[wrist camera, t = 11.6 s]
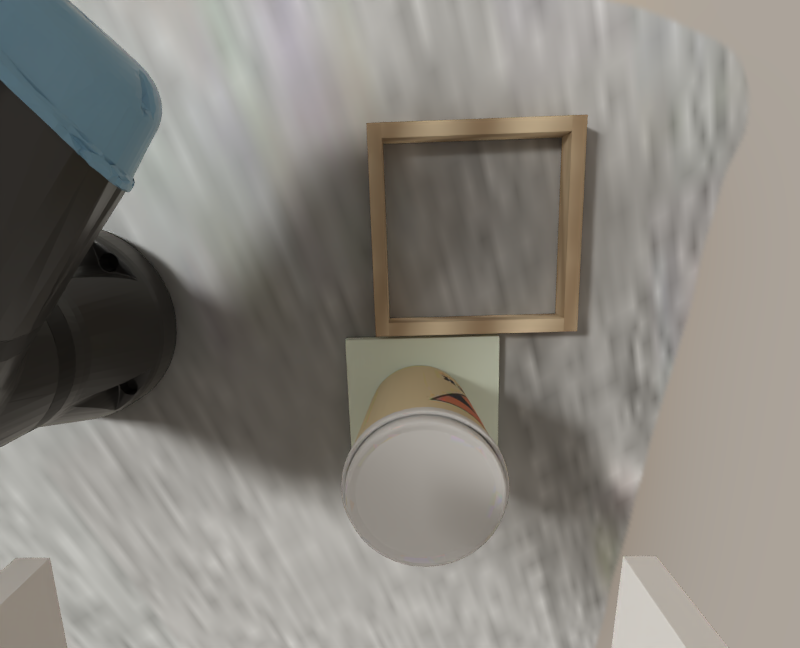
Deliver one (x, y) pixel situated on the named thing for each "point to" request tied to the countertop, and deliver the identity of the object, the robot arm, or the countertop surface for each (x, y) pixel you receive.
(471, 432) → the coffee cup
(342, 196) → the countertop surface
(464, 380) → the sage tile
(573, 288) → the oak frame
